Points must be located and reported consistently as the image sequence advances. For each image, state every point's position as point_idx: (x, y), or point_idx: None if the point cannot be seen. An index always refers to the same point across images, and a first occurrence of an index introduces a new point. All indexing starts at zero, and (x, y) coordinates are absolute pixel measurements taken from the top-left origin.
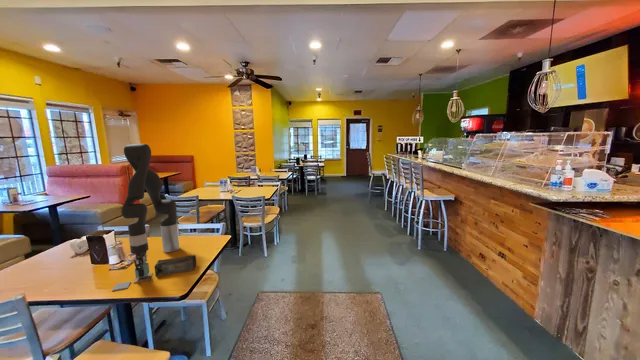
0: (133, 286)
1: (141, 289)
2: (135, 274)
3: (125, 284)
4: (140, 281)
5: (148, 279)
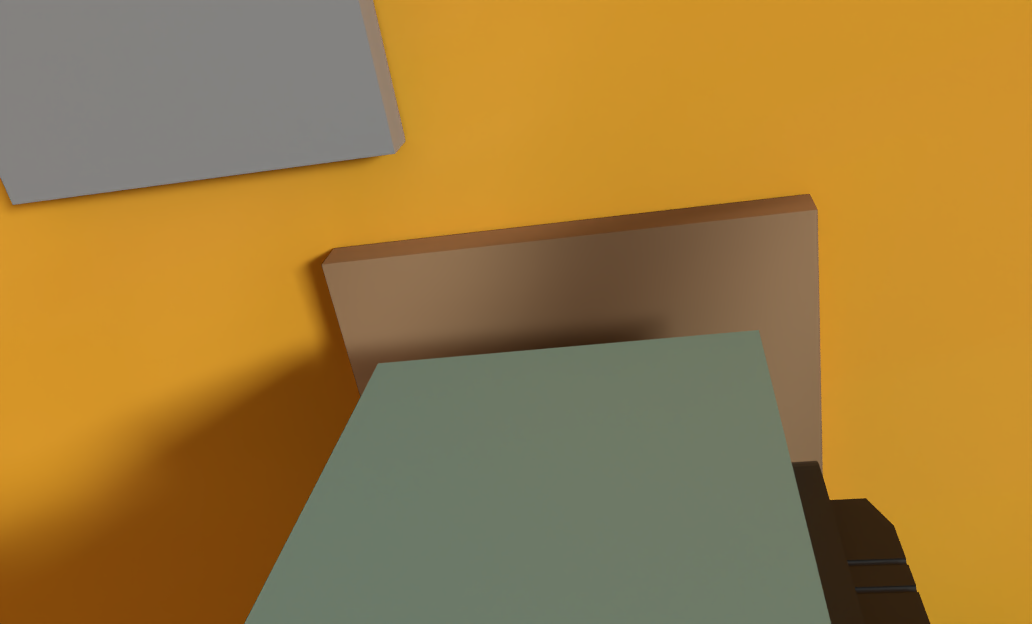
0: (151, 307)
1: (10, 525)
2: (337, 450)
3: (195, 58)
4: None
5: None
